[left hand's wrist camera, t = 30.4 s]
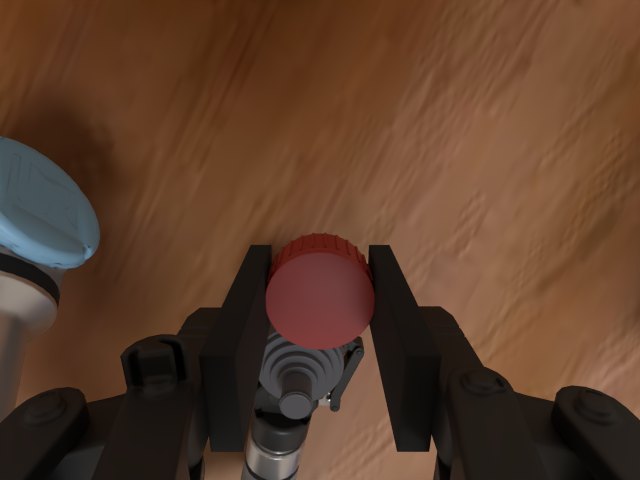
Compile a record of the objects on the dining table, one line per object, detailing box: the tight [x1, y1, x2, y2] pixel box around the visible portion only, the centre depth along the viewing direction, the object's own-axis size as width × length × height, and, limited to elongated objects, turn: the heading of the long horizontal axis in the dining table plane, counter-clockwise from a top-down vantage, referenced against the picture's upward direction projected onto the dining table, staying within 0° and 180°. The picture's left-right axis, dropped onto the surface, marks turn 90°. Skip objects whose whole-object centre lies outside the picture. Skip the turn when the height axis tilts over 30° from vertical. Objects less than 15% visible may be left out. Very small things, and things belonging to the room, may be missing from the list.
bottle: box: [259, 324, 344, 419], centre depth 40 cm, size 8×8×21 cm
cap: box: [265, 233, 375, 350], centre depth 14 cm, size 4×4×2 cm
